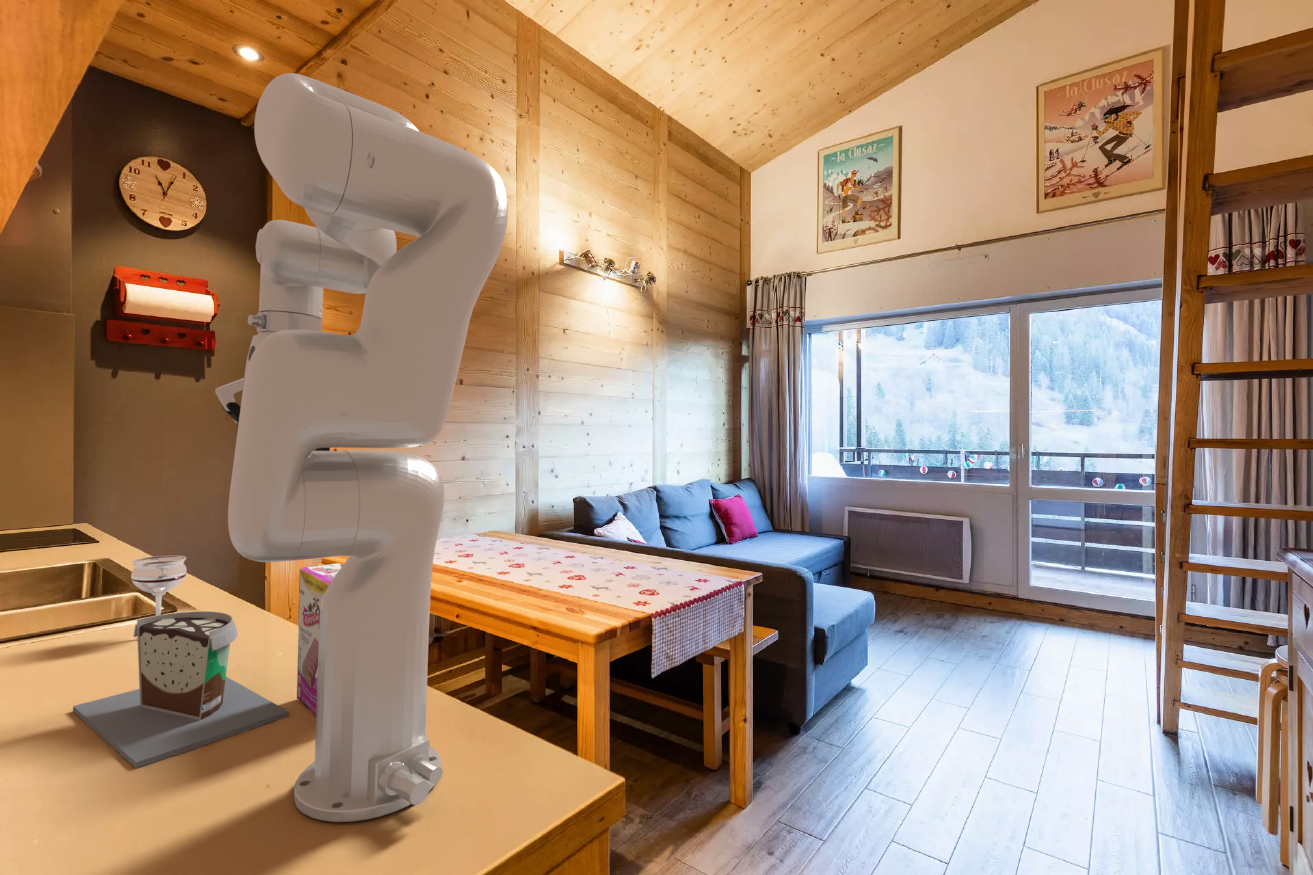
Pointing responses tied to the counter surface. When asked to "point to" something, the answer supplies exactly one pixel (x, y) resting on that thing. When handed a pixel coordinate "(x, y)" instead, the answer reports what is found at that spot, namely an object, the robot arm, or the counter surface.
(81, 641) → the counter surface
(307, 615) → the candy bar box
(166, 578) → the wineglass
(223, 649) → the food container
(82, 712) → the mat
